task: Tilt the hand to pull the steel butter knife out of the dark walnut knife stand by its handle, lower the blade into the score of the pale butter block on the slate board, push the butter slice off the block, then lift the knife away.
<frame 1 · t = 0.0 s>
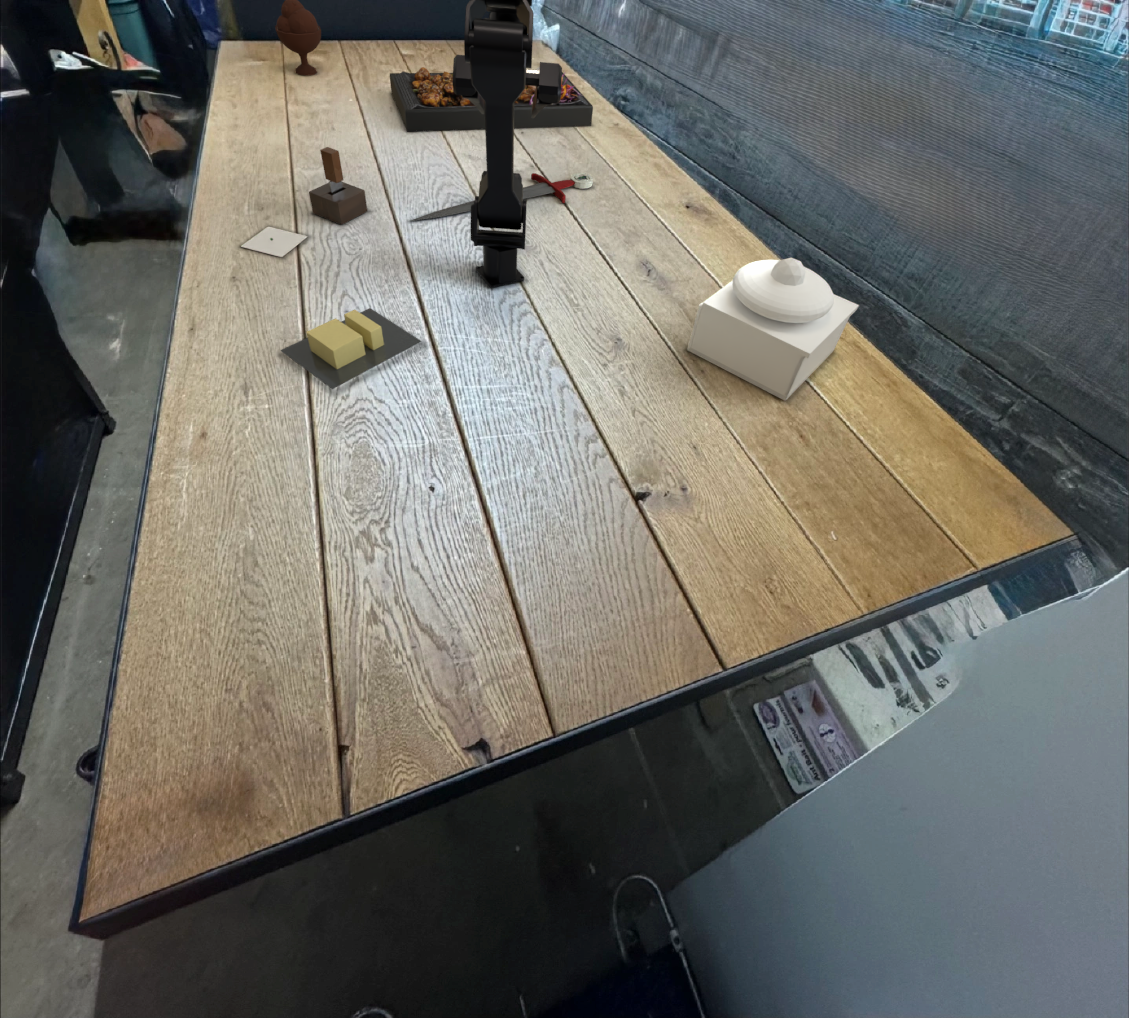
hand: (508, 113, 122), 15 cm above the table, tool tilted 35°, fingers open, 9 cm apart
butter board: (353, 350, 96), on the table
butter slice: (365, 338, 97), point 1 cm above the table, touching butter board
ice cream bowl: (306, 72, 169), on the table
coaster: (275, 242, 114), on the table
dagger: (507, 201, 131), on the table
food platter: (490, 110, 163), on the table
knife stand: (340, 212, 123), on the table
knife: (335, 182, 118), in the knife stand
white lidded jar: (761, 352, 105), on the table
butter block: (338, 352, 94), point 1 cm above the table, touching butter board
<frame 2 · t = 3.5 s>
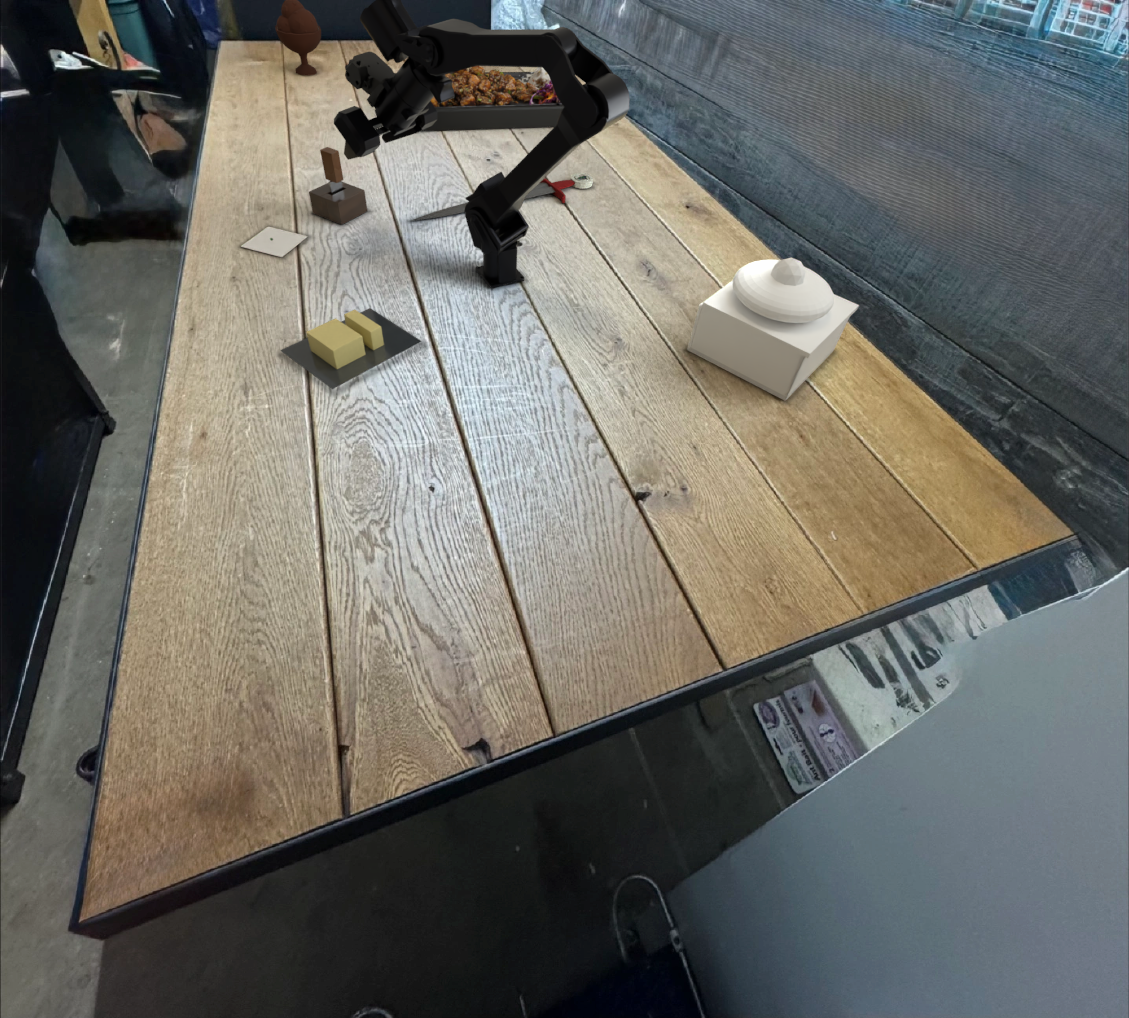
hand: (365, 147, 110), 14 cm above the table, tool tilted 45°, fingers open, 9 cm apart
nothing on the table moved.
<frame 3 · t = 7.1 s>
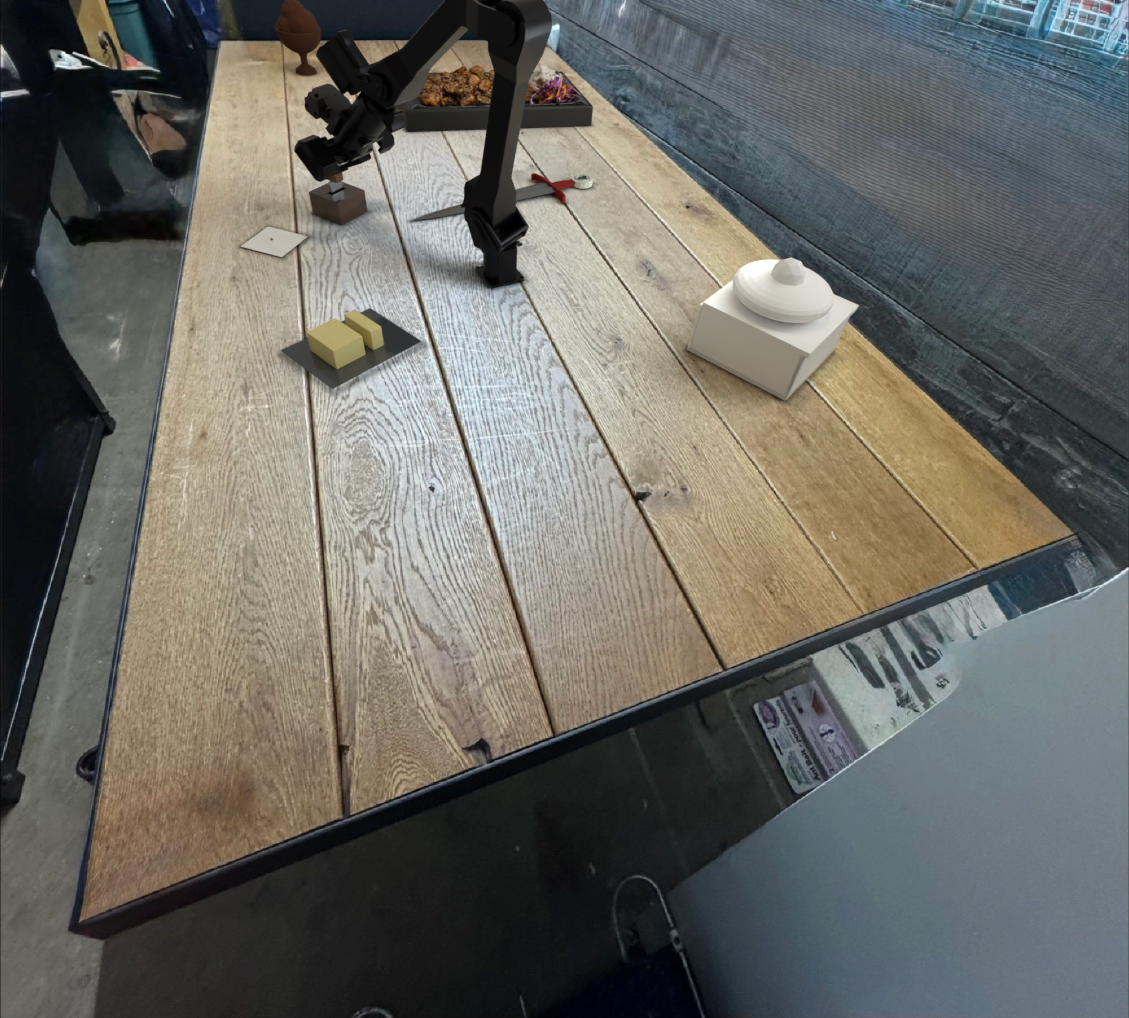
hand: (327, 171, 118), 7 cm above the table, tool tilted 45°, fingers closed on knife, 2 cm apart
knife: (335, 182, 118), in the knife stand, touching gripper
everything else where it was.
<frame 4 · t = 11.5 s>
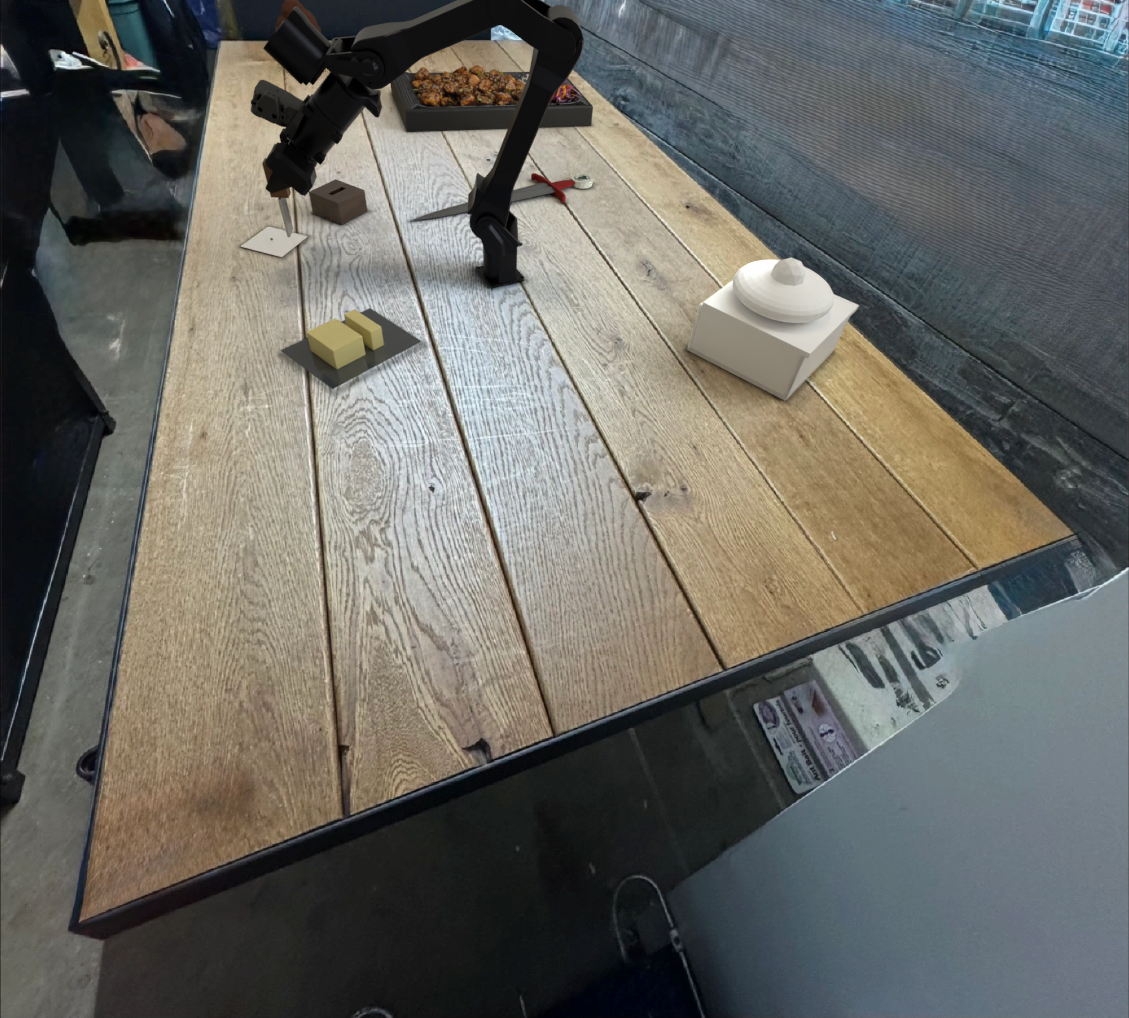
hand: (270, 187, 99), 13 cm above the table, tool tilted 45°, fingers closed on knife, 2 cm apart
knife: (281, 198, 100), point 12 cm above the table, touching gripper
everything else where it was.
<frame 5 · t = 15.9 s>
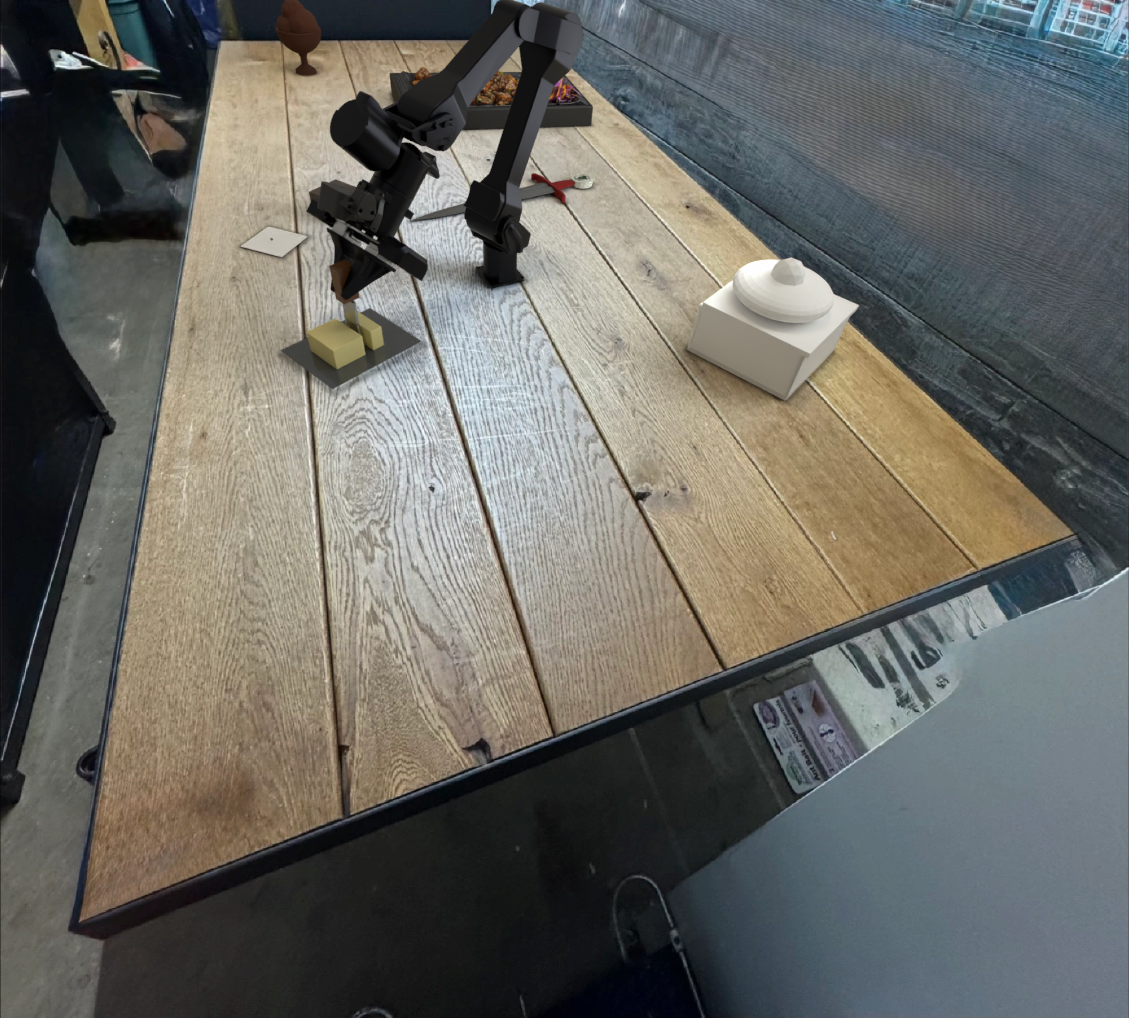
hand: (338, 295, 89), 9 cm above the table, tool tilted 45°, fingers closed on knife, 2 cm apart
knife: (348, 301, 91), point 8 cm above the table, touching gripper
everything else where it was.
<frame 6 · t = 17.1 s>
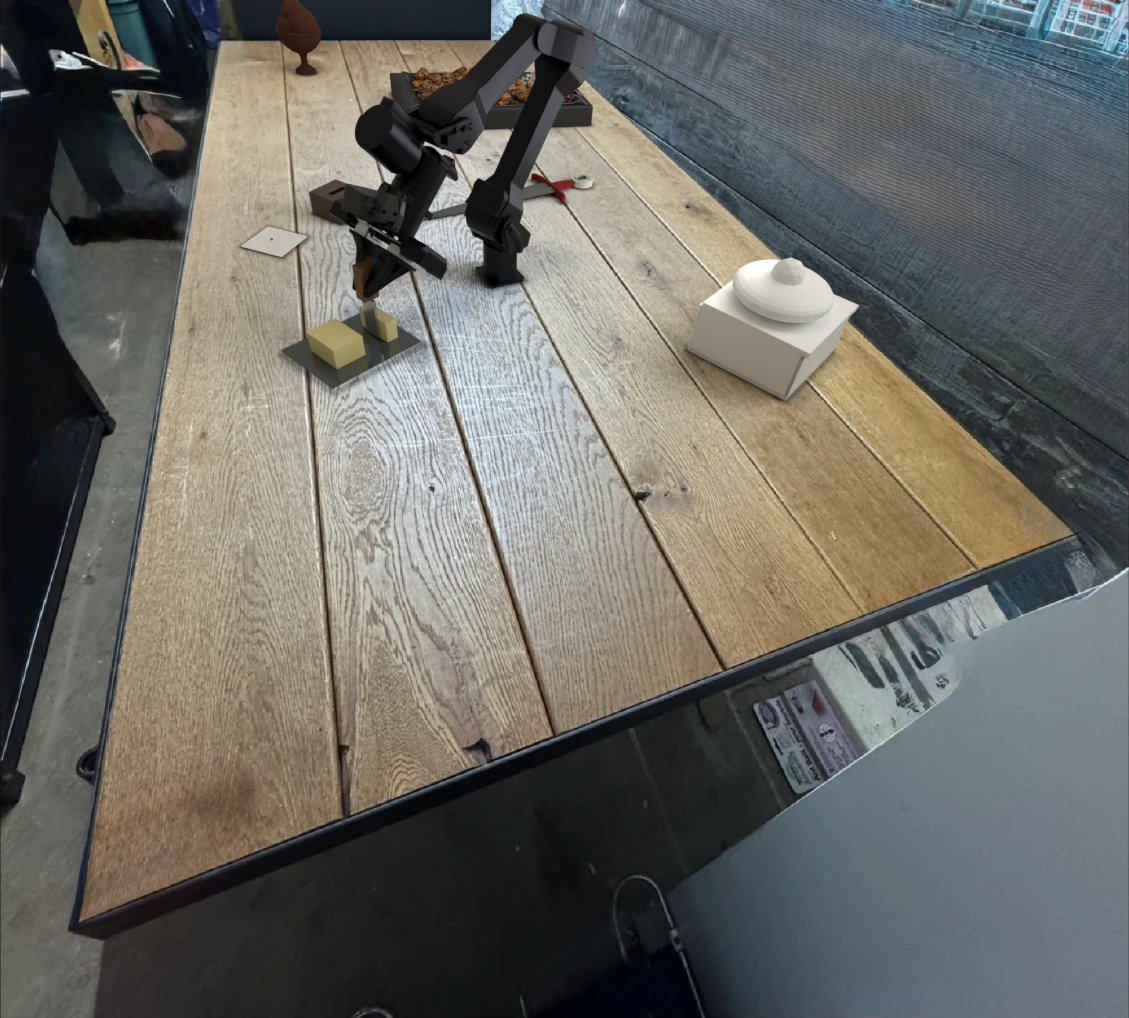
hand: (359, 293, 91), 8 cm above the table, tool tilted 45°, fingers closed on knife, 2 cm apart
butter slice: (379, 331, 98), point 1 cm above the table, touching butter board
knife: (368, 300, 93), point 7 cm above the table, touching gripper
everything else where it was.
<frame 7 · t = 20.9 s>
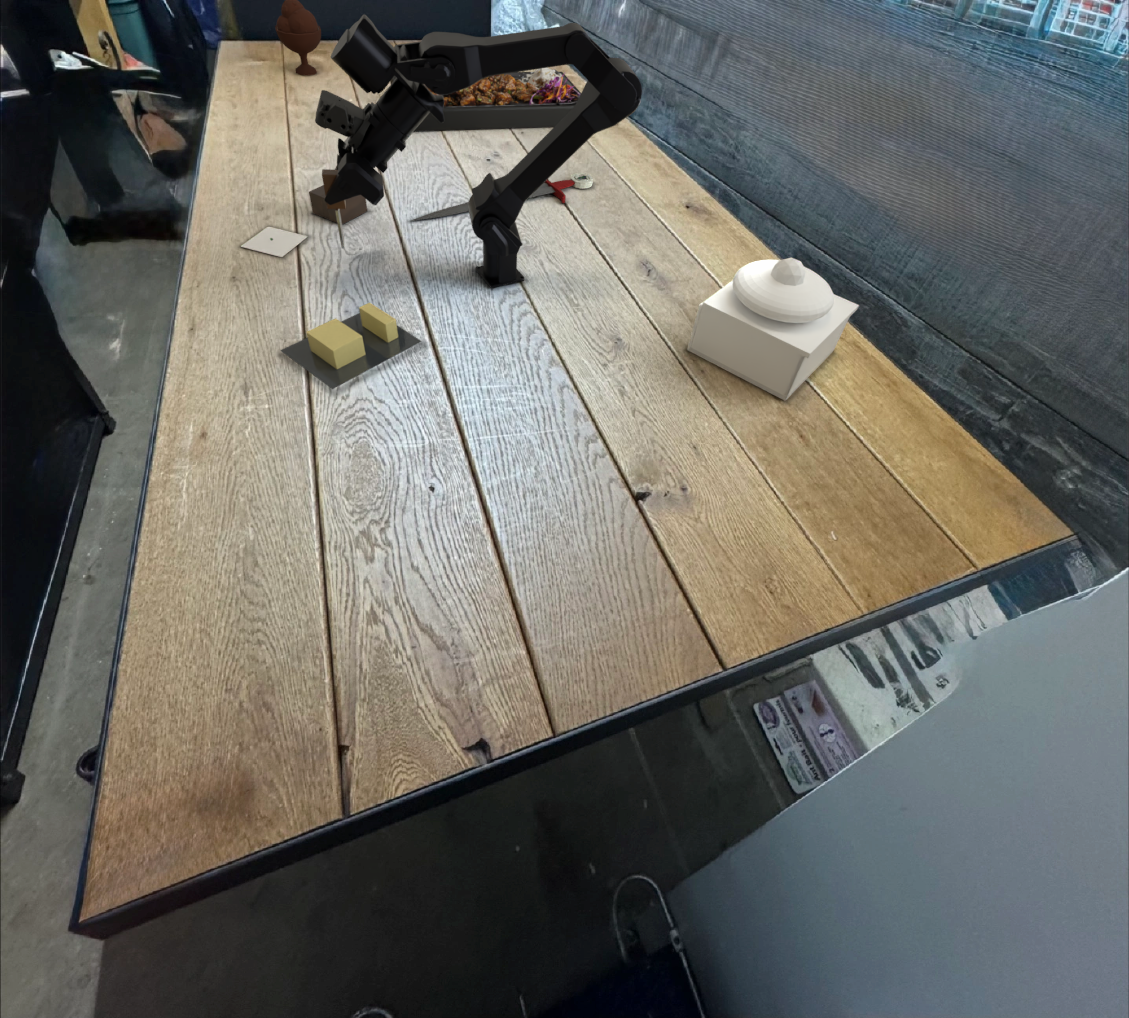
hand: (327, 199, 98), 13 cm above the table, tool tilted 45°, fingers closed on knife, 2 cm apart
knife: (337, 209, 99), point 12 cm above the table, touching gripper
everything else where it was.
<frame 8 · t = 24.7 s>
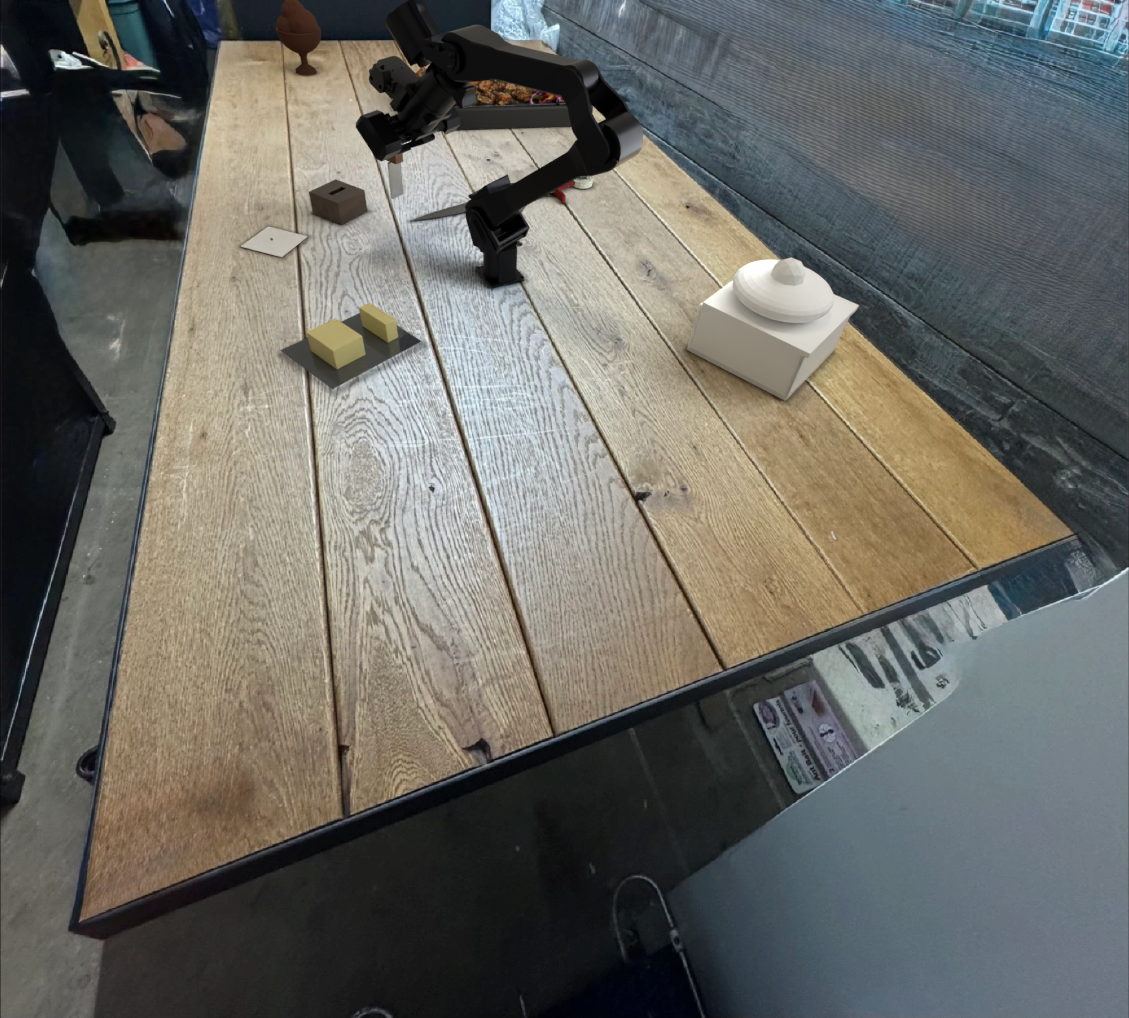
hand: (388, 151, 110), 14 cm above the table, tool tilted 45°, fingers closed on knife, 2 cm apart
knife: (394, 163, 111), point 12 cm above the table, touching gripper
everything else where it was.
at the end: butter slice moved 2.7 cm from its start; butter block moved 0.0 cm from its start; the gripper is holding knife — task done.
